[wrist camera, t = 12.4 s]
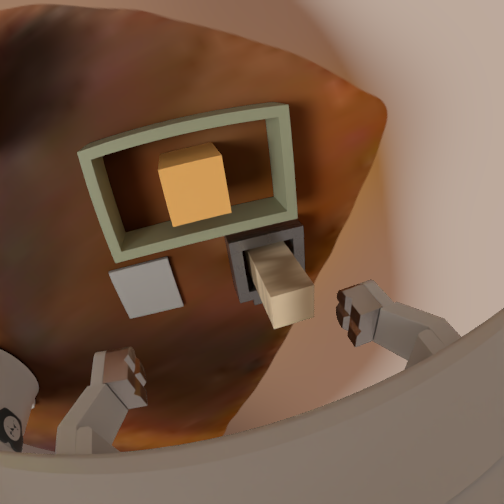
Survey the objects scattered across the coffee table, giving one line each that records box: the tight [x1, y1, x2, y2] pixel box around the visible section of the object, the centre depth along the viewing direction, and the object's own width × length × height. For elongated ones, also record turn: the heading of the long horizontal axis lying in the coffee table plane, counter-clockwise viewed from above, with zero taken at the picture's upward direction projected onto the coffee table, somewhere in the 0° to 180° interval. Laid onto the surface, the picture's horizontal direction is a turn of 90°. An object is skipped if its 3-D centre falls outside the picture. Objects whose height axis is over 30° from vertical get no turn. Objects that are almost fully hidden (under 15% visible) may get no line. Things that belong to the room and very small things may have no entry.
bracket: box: [224, 219, 305, 305], centre depth 35 cm, size 8×11×3 cm
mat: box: [109, 257, 184, 319], centre depth 34 cm, size 7×7×1 cm
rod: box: [245, 241, 314, 329], centre depth 31 cm, size 4×4×10 cm
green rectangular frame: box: [77, 102, 298, 263], centre depth 27 cm, size 18×11×4 cm, turn 97°
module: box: [158, 142, 232, 227], centre depth 26 cm, size 5×5×6 cm
